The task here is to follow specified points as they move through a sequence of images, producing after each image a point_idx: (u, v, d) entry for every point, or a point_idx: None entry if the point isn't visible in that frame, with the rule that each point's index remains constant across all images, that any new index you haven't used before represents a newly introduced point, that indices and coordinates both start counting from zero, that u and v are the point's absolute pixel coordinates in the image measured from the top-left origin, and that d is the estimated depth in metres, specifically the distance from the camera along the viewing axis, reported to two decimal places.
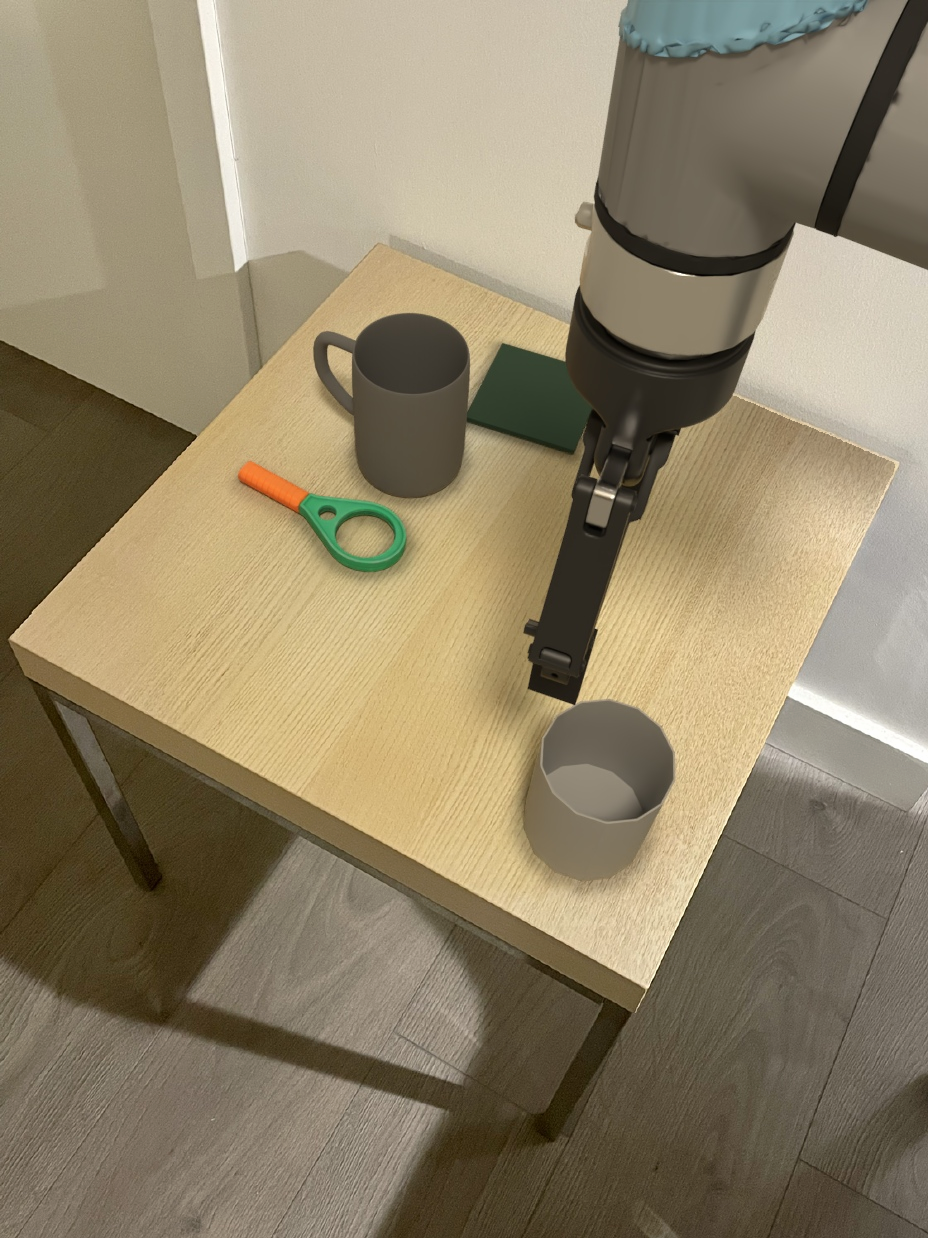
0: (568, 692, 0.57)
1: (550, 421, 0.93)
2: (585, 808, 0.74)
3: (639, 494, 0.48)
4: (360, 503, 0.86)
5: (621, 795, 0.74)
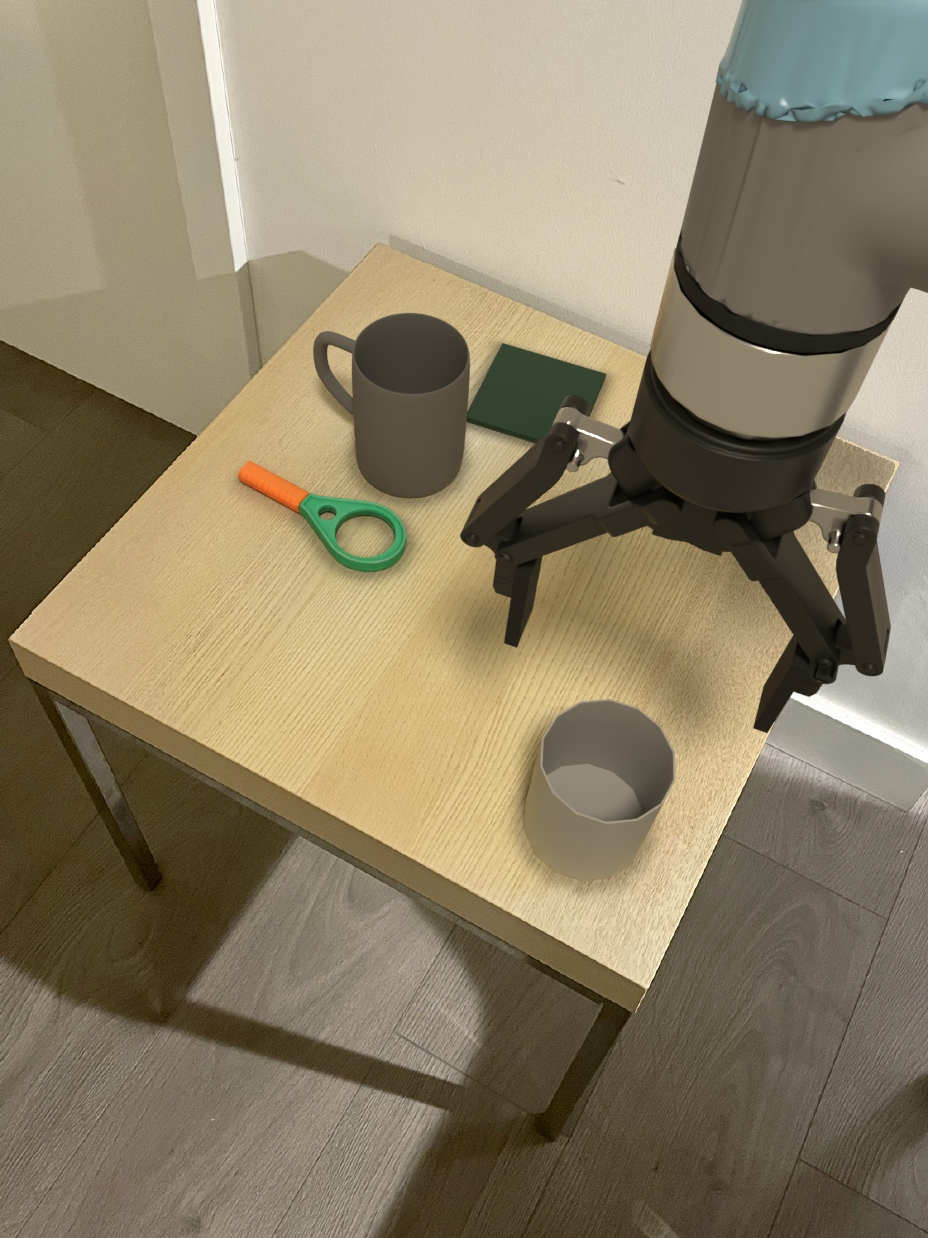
0: None
1: (550, 421, 0.93)
2: (585, 808, 0.74)
3: (615, 506, 0.45)
4: (360, 503, 0.86)
5: (621, 795, 0.74)
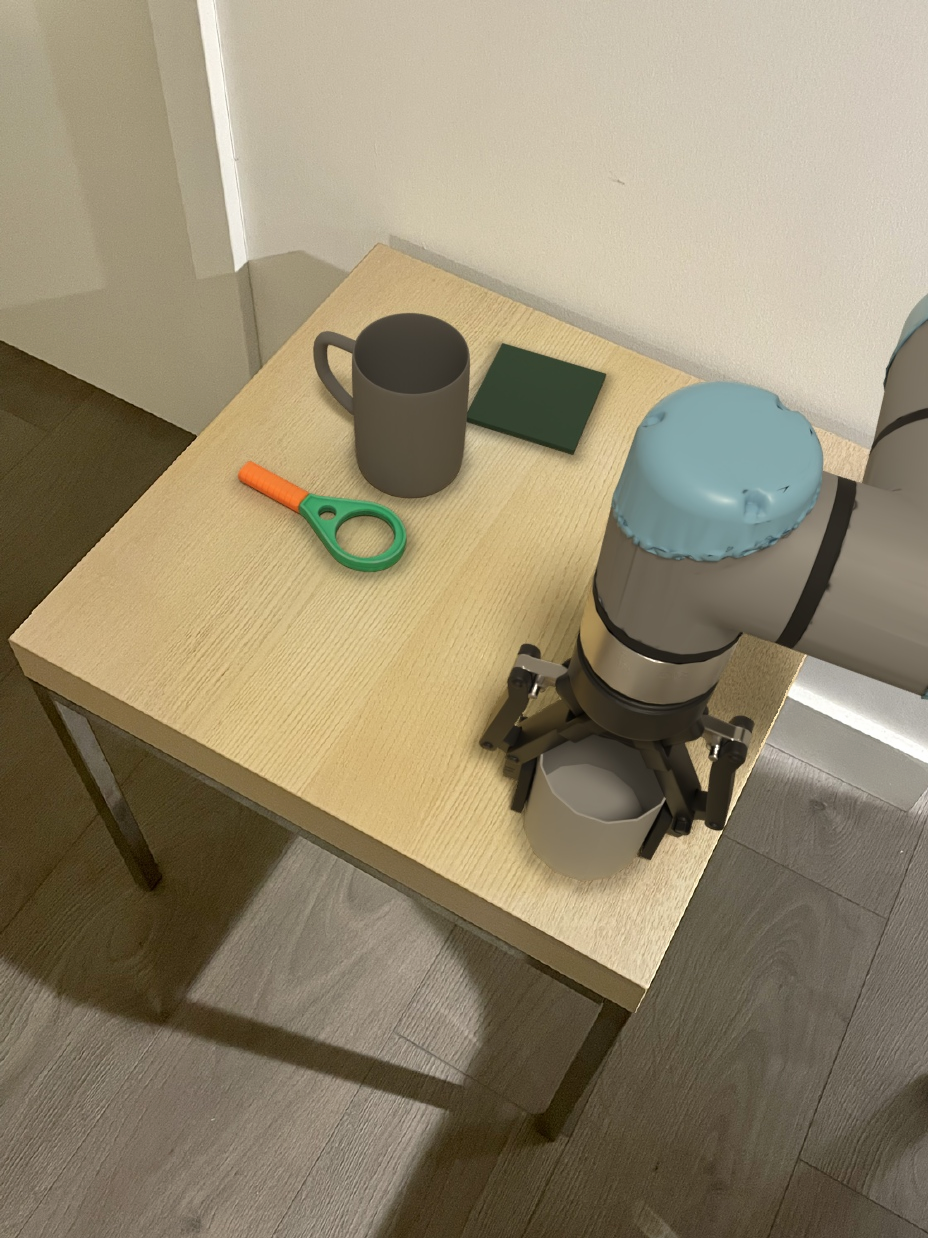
0: None
1: (550, 421, 0.93)
2: (585, 808, 0.74)
3: (568, 722, 0.61)
4: (360, 503, 0.86)
5: (621, 795, 0.74)
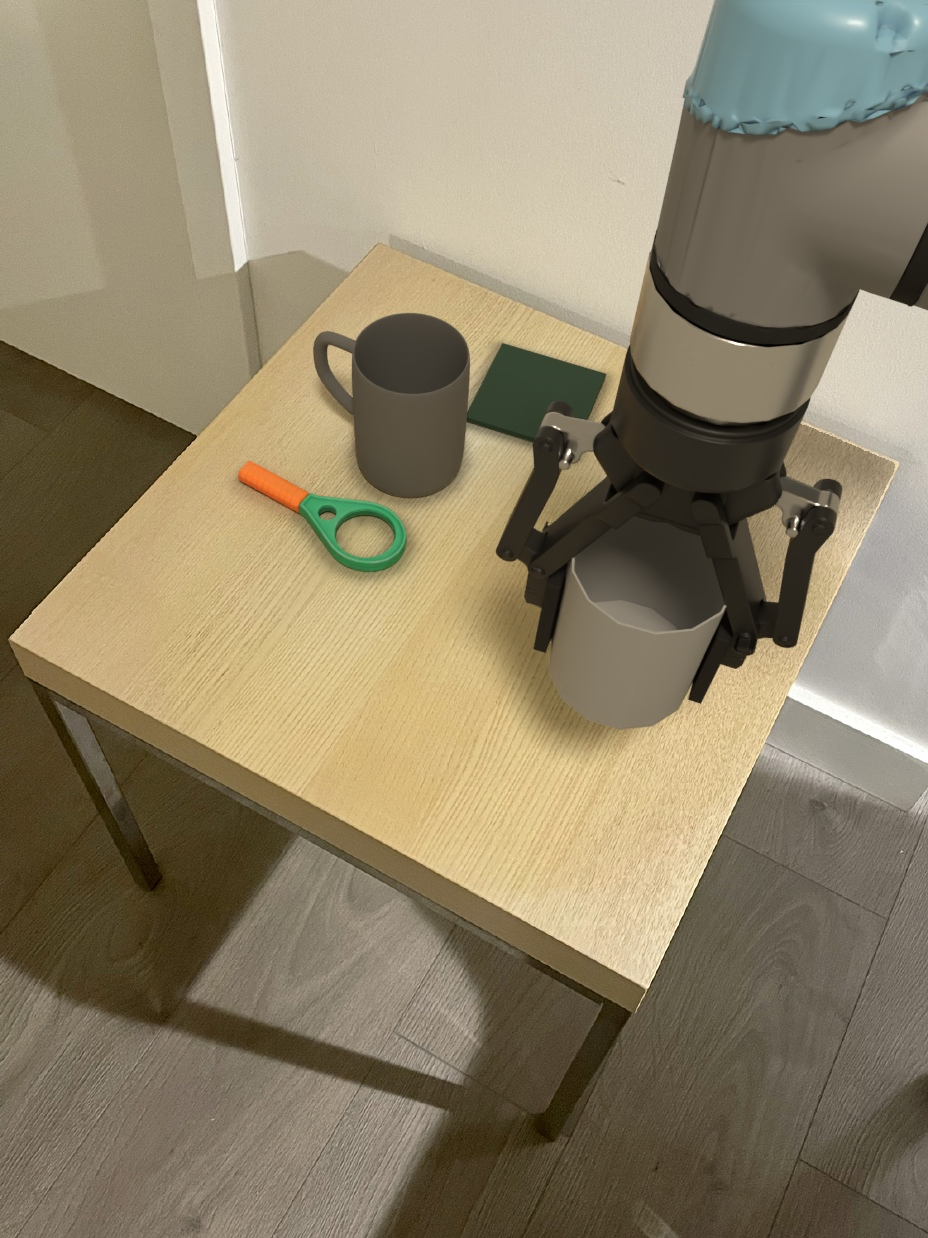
0: None
1: None
2: None
3: (609, 500, 0.49)
4: (360, 503, 0.86)
5: None
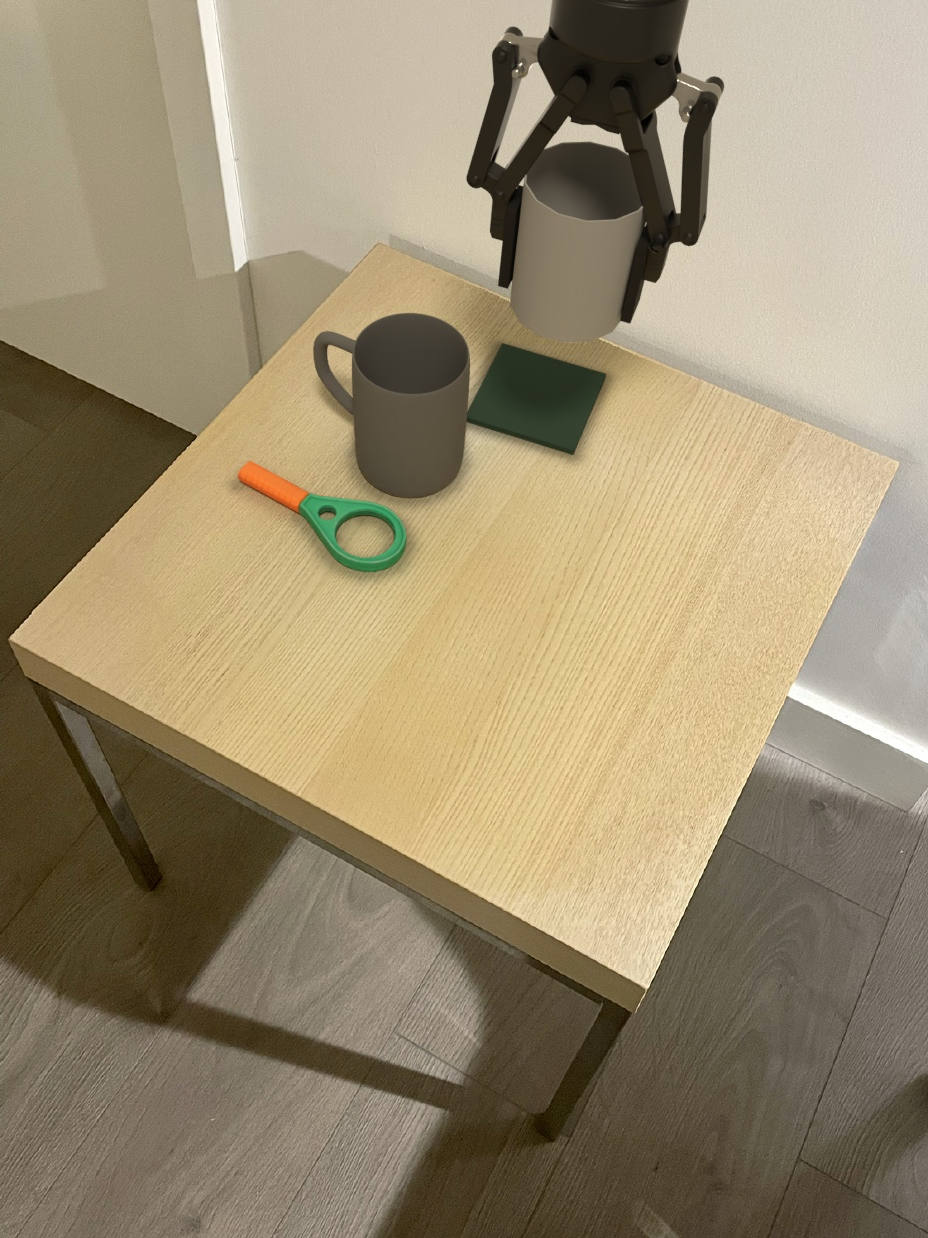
0: None
1: (550, 421, 0.93)
2: None
3: (550, 105, 0.65)
4: (360, 503, 0.86)
5: None
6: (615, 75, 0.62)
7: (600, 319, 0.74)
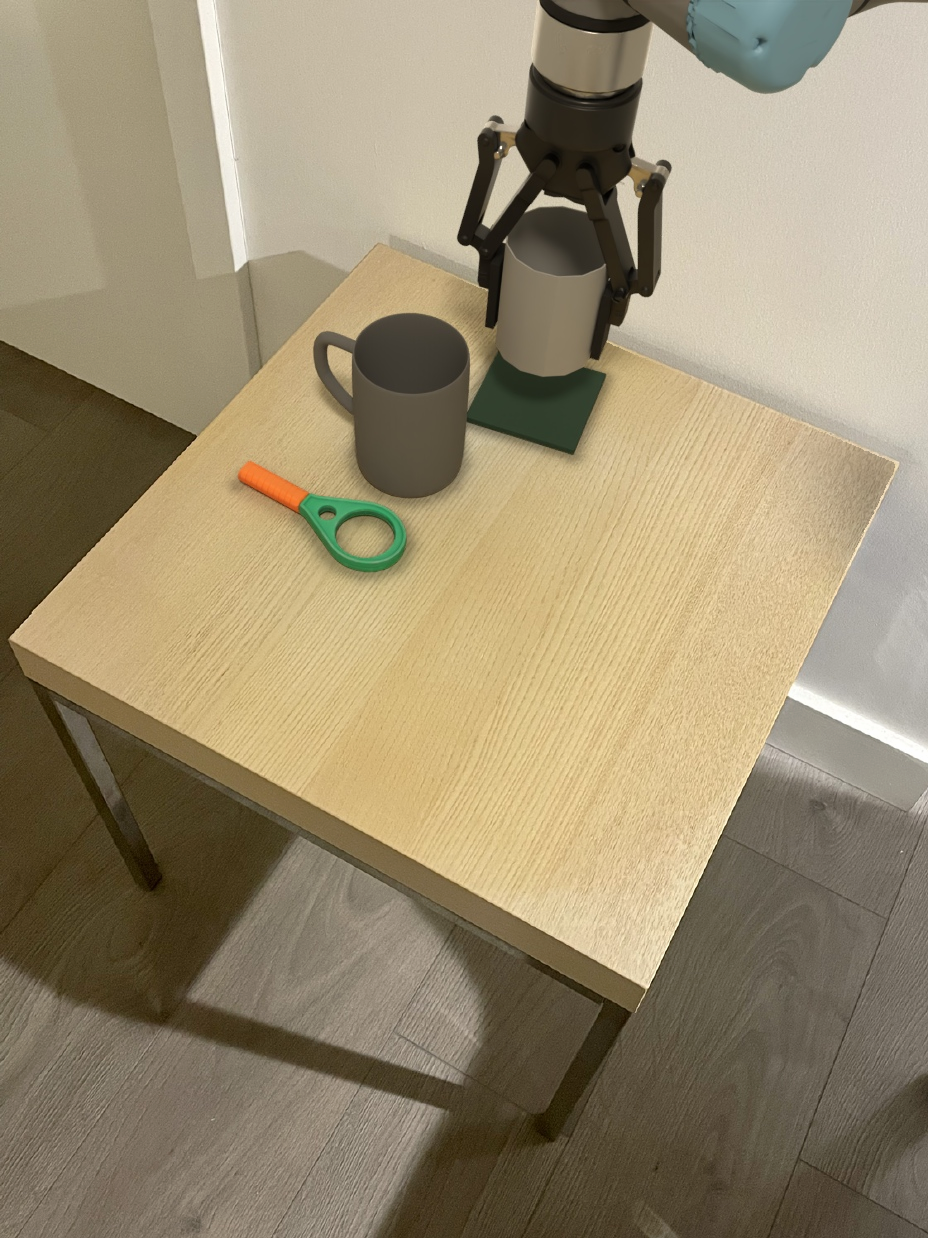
0: None
1: (550, 421, 0.93)
2: None
3: (526, 181, 0.77)
4: (360, 503, 0.86)
5: None
6: (580, 158, 0.74)
7: (572, 357, 0.86)
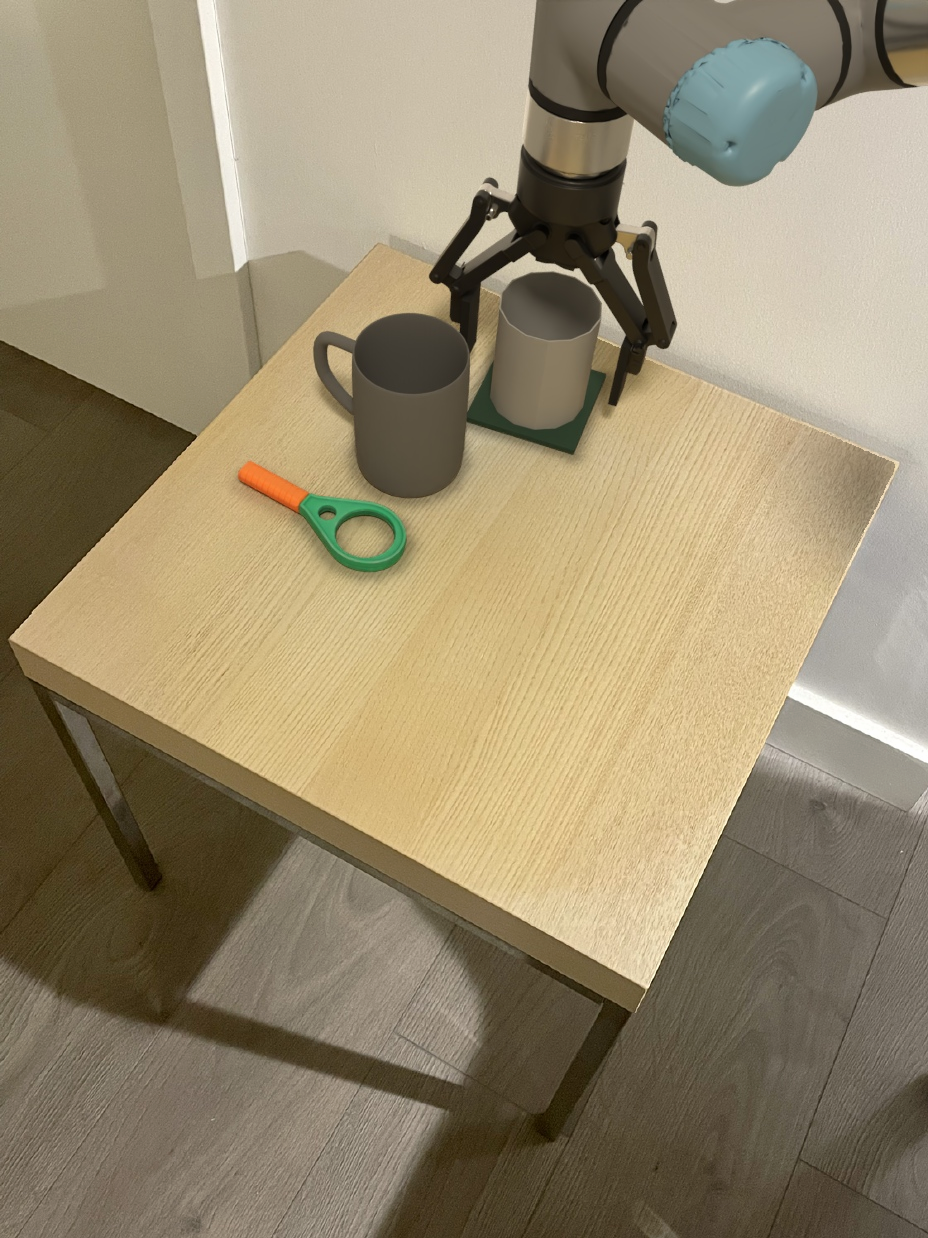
0: None
1: None
2: None
3: (513, 241, 0.81)
4: (360, 503, 0.86)
5: None
6: (569, 229, 0.79)
7: (562, 411, 0.92)
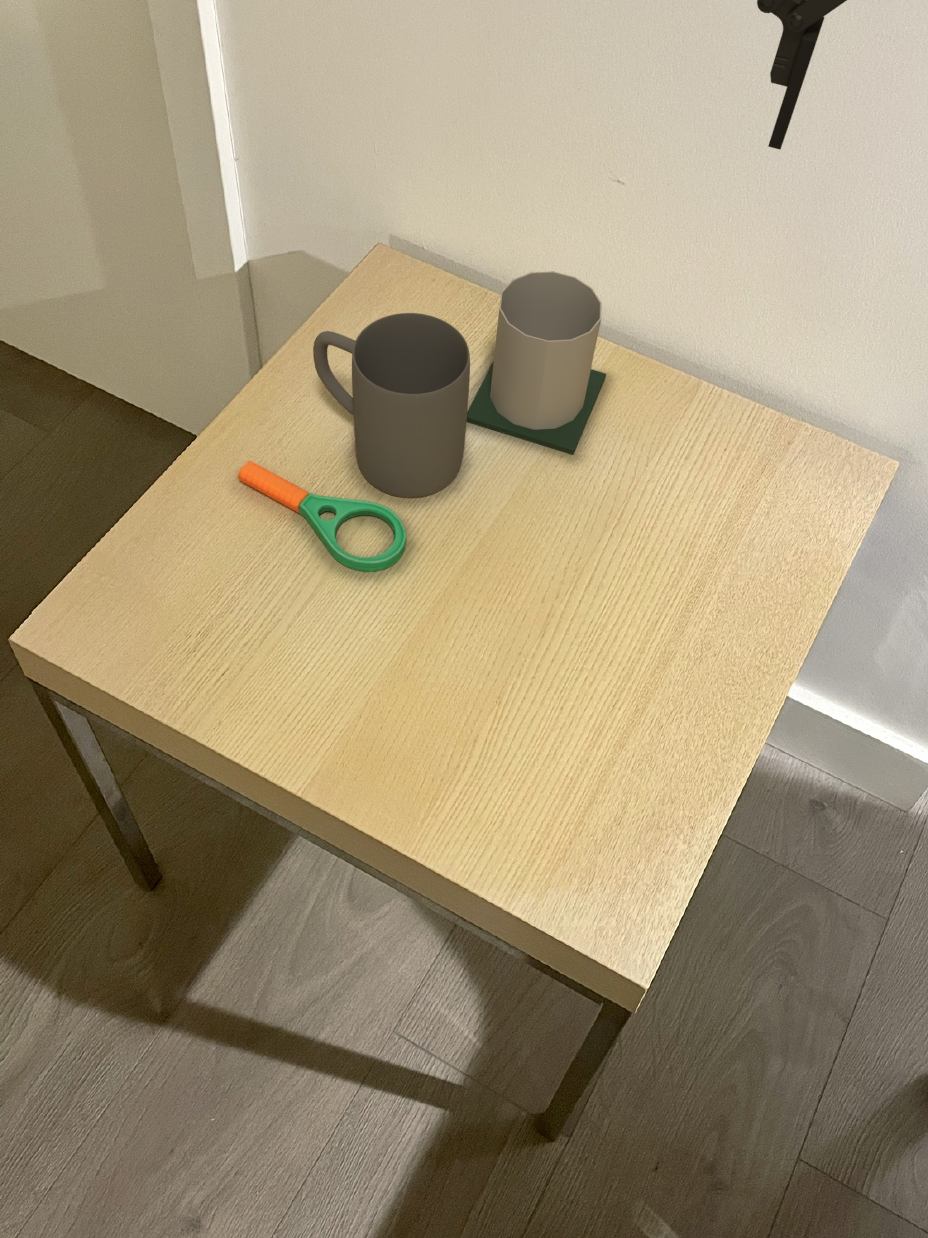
0: None
1: None
2: None
3: None
4: (360, 503, 0.86)
5: None
6: None
7: (562, 411, 0.92)
